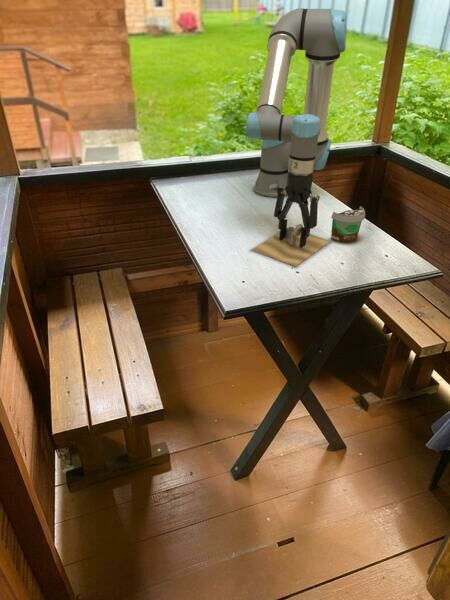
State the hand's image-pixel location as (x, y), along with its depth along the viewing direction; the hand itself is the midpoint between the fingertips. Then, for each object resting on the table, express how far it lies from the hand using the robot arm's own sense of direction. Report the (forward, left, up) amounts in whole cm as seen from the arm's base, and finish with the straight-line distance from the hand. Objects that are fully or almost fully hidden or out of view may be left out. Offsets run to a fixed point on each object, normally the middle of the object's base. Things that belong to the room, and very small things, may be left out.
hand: (292, 242), depth 143 cm
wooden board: (0, 0, -1) cm, 1 cm away
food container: (-16, +12, -2) cm, 20 cm away
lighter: (0, 0, -1) cm, 1 cm away
